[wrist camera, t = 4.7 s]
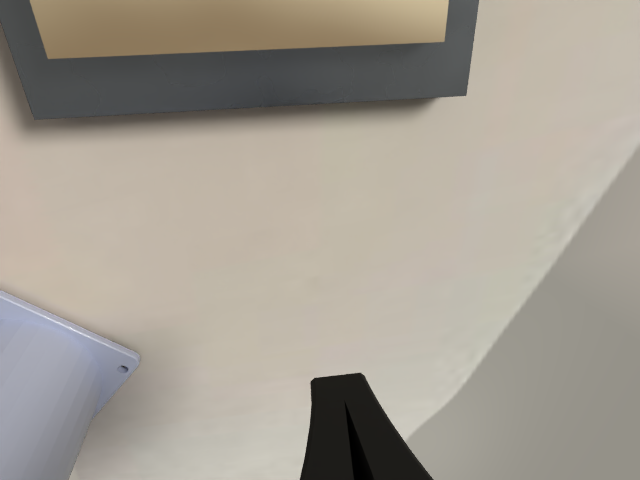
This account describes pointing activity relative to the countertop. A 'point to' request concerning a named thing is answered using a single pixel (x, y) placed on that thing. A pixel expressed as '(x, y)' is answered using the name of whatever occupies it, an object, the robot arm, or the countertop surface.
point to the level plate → (230, 25)
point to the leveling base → (237, 73)
